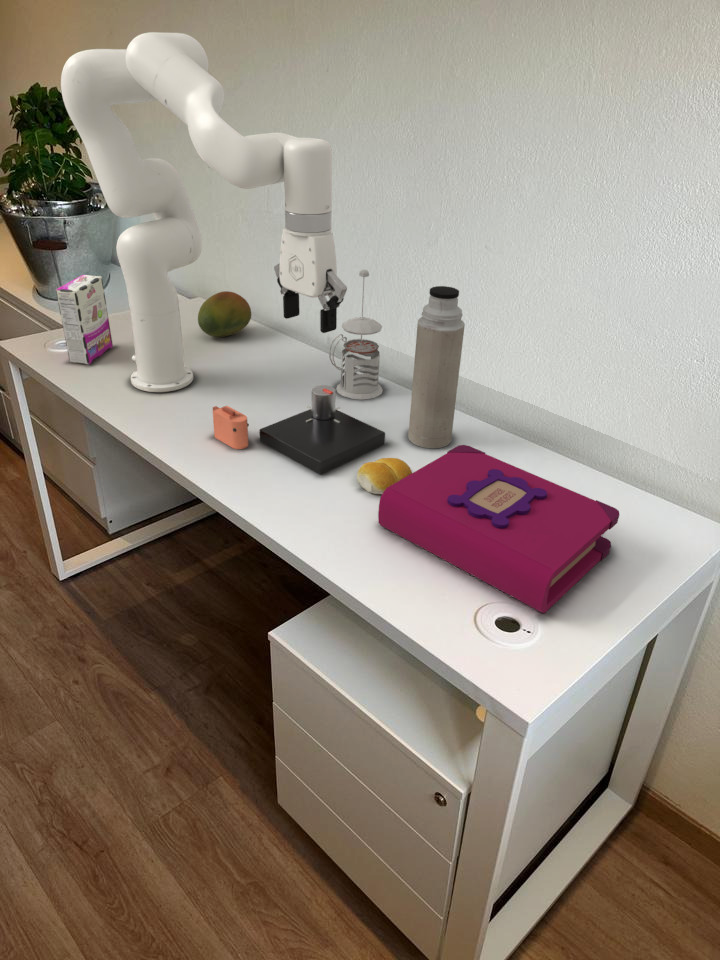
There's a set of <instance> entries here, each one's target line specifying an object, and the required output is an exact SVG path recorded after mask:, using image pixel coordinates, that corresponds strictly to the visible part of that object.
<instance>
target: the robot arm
mask: <svg viewBox="0 0 720 960" xmlns="http://www.w3.org/2000/svg"><path fill="white" fill-rule="evenodd" d="M209 68H210V67H209V58H208V55H207V53H206V51H205V49H204V47H203V45H202V44H201V43H200V42H199V41H198V40H197V39H196V38H194V37H193V36H191V35H189V34H187V33H183V32H157V31H150V32H149V31H148V32H145V33H141V34H138V35H136V36H135V37H134V38H133V39H132V40H130V41H129V44H128V45H127V48H126V49H125V48H123V49H122V48H117V49H116V48H94V49H85V50H81V51H79V52H76V53H74V54H72V55H71V56H69V58H68V59H67V60H66V62H65V63H64V65H63V68H62V71H61V76H60V91H61V96H62V100H63V101H62V102H63V104H64V107H65V109H66V112H67V114H68V116H69V118H70V120H71V122H72V124H73V126H74V128H75V129H76V131H77V133H78V135H79V137H80V140H81V141H82V144H83V145H84V148H85V150H86V153H87V156H88V158H89V161H90V164H91V167H92V169H93V172H94V174H95V177H96V180H97V182H98V185H99V188H100V190H101V192H102V195H103V198H104V200H105V202H106V204H107V207H108V209H109V210H110V211H111V212H112V213H113V214H114V215H115V216H117V217H119V218H123V219H129V218H136V217H141V216H147V215H150V214H153V217H154V219H155V220H154V219H153V220H150V221H146V222H141V223H138V224H137V223H136V224H134V225H132V226H129V227H128V228H127V229H125V230H124V231H122V232H121V233H120V235H119V236H118V239H117V242H116V247H115V248H116V256H117V260H118V263H119V266H120V269H121V271H122V275H123V278H124V282H125V287H126V293H127V294H126V295H127V299H128V307H129V315H130V323H131V328H132V329H131V330H132V338H133V344H134V345H133V346H134V352H135V353H134V354H132V356H131V360H132V361H133V362H135V363H136V364H135V365H136V370H135V371H133V373H132V374H131V375H130V383H131V385H132V387H134V388H136V389H138V390H140V391H144V392H149V393H168V392H174V391H178V390H181V389H183V388H186V387H188V386H189V385H190V384H192V382H193V380H194V372H193V371H192V370H191V369H190V368H189V367H187V366H185V355H184V354H185V353H184V345H183V332H182V322H181V311H180V302H179V301H180V300H179V294H178V292H177V289H176V287H175V285H174V283H172V281H171V278H170V277H169V272H172V271H174V270H176V269H180V268H182V267H186V266H188V265H191V264H193V263H195V262H196V261H197V260H198V259H199V258H200V256H201V254H202V251H203V240H202V234H201V231H200V228H199V224H198V221H197V218H196V216H195V213H194V210H193V207H192V203H191V201H190V198H189V195H188V192H187V190H186V186H185V184H184V181H183V179H182V177H181V175H180V173H179V172H178V170H177V169H176V168H175V167H174V165H172V164H171V163H170V162H168V161H167V160H165V159H163V158H157V157H151V158H150V157H149V158H143V159H142V158H141V156H140V154H139V153H138V150H137V148H136V144H135V141H134V138H133V136H132V134H131V132H130V130H129V129H128V127H127V126H126V125H125V123H124V121H123V120H122V119H121V118H120V117H119V116H118V115H117V114H116V113H115V112H114V111H113V110H112V107H113V106H114V105H130V104H132V105H133V104H144V103H152V102H155V101H158V102H159V103H160V104H162V105H163V106H164V107H165V108H166V109H167V110H168V111H169V112H171V113H172V114H173V115H174V116H175V117H177V118H178V119H179V120H180V121H182V123H184V124H185V125H186V126H187V130H188V134H189V138H190V140H191V143H192V145H193V147H194V150H195V151H196V153H197V154H198V156H199V157H200V158H201V159H202V161H203V162H204V163H205V164H206V165H207V166H209V167H210V168H211V169H212V170H213V171H214V172H215V173H216V174H218V176H220V177H221V178H223V180H225V181H227V182H228V183H229V184H231V185H233V186H235V187H237V188H239V189H246V190H251V189H256V188H260V187H265V186H269V185H274V184H275V185H277V184H280V183H283V186H284V221H285V222H284V223H285V224H284V225H285V227H283V228H282V233H281V237H280V238H281V239H280V246H279V247H280V248H279V263H277V264H276V265H274V266H273V270H274V272H275V276H276V278H277V279H276V282H277V284H278V286H279V288H280V289H279V291H280V294H281V295H282V304H283V305H282V308H283V318H284V319H286V320H287V319H291V318H295V317H298V316H300V295H303V296H306V297H308V298H313V299H314V298H318V300H319V303H320V305H321V307H322V309H320V312H319V315H320V316H319V317H320V318H319V319H320V320H319V326H320V328H319V329H320V332H321V333H322V334H326V333H329V332H334V331H336V330H337V327H338V326H337V325H338V324H337V323H338V322H337V320H338V319H337V318H338V315H337V314H338V313H337V310H338V308H340V307H341V306H340V305H341V304H342V303H343V302H344V299H345V298H344V297H345V296H346V293H347V291H348V286H347V285H346V284H345V283H344V282H343V281H342V279H340V277H338V274H337V273H338V271H337V254H336V246H335V238H334V234H333V232H332V230H333V229H332V225H333V224H332V223H333V222H332V219H333V218H332V214H333V213H332V202H333V201H332V198H333V197H332V196H333V195H332V194H333V193H332V191H333V189H332V188H333V183H332V182H333V180H332V179H333V164H332V163H333V154H332V153H333V152H332V151H333V150H332V146H331V144H330V142H329V141H327V140H326V139H323V138H317V137H298V136H294V135H291V134H288V133H284V132H275V131H274V132H266V133H257V134H249V135H243V134H241V133H240V132H238V131H237V130H235V128H233V127H232V126H230V125H229V124H228V122H226V121H225V120H224V119H223V118H222V117H221V116H220V113H221V111H222V109H223V105H224V102H225V92H224V87H223V85H222V84H221V83H220V82H219V80H217V79H216V78H215V77H213V76H212V75H211V74H210V73H209ZM327 297H328V299H329V300H328V299H327Z"/></svg>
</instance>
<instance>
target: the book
mask: <svg viewBox="0 0 720 960" xmlns="http://www.w3.org/2000/svg"><path fill="white" fill-rule="evenodd" d="M446 452H447V453H445V454H442V455H441V456H440V457H438V458H436V459H434V460H433V461H431V462H429V463H427V464H426V465H424V466H422V467H421V468H419V469H416V470H415V471H414V472H412V474H410V475H408V476H407V477H405V478H403V479H401V480H400V481H398V482H396V483H394V484H393V485H391V486H389V487H387V488H386V490H385V491H384V492H383V494H381V496H380V498H379V504H378V512H377V521H378V524H379V526H381V527H382V528H385V529H386V530H388V531H390V532H392V533H394V534H396V535H397V536H399V537H400V538H403V539H405V540H406V541H408V542H410V543H412V544H414V545H416V546H418V547H420V548H421V549H423V550H425V551H427V552H428V553H430V554H433V555H434V556H436V557H438V558H440V559H442V560H444V561H446V562H447V563H449V564H451V565H453V566H454V567H457V568H458V569H460V570H462V571H463V572H465V573H467V574H470V575H471V576H473V577H475V578H477V579H478V580H480V581H482V582H484V583H486V584H488V585H490V586H491V587H493V588H496V589H497V590H498V591H501V592H503V593H505V594H506V595H509V596H511V598H514V599H516V600H518V601H519V602H521V603H523V604H525V605H527V606H529V607H530V608H532V609H534V610H536V611H538V612H540V613H541V614H546V613H547V612H548V611H549V610H550V609H551V608H552V607H553V606H554V605H555V604H556V603H558V601H559V600H560V599H561V598H563V596H565V595H566V594H567V593H568V592H569V591H570V590H571V589H572V588H573V587H574V586H575V585H576V584H577V583H578V582H579V581H580V580H582V579H583V578H584V577H585V576H586V575H587V574H588V573H589V572H590V571H591V570H592V569H593V568H594V567H595V566H596V565H597V564H598V563H600V562H602V561H603V560H605V558H607V556H609V554H610V551H611V548H612V541H610V540H609V539H608V538H606V537H604V536H603V535H604V534H605V533H607V531H608V530H611V529H612V528H614V526H616V525H617V524H618V523H619V518H620V511H619V510H618V508H616V507H613V506H611V505H609V504H607V503H604V502H602V501H599V500H597V499H596V500H595V499H593V498H590V497H588V496H586V495H584V494H581V493H579V492H576V491H574V490H572V489H569V488H567V487H565V486H561V485H560V484H557V483H555V482H553V481H550V480H548V479H545V478H543V477H540V476H538V475H536V474H534V473H532V472H530V471H527V470H524V469H522V468H520V467H517V466H515V465H513V464H510V463H507V462H505V461H503V460H501V459H498V458H496V457H494V456H492V455H489V454H487V453H486V452H485V451H482V450H480V449H478V448H475V447H473V446H471V445H467V444H459V445H457V446H455V447H453V448H451V449H450V450H448V451H446Z"/></svg>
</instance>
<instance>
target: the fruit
mask: <svg viewBox="0 0 720 960" xmlns="http://www.w3.org/2000/svg"><path fill="white" fill-rule="evenodd" d="M251 320H252V308H251V306H250V304H249V302H248V301H247V300H246V299H245V298H244V297H243V296H241V295H240V294H238V293H236V292H233V291H228V290H227V291H226V290H225V291H219V292H217V293H215V294H213V295H211V296H210V297H208V298H207V299H206V300H205V301H204V302H203V303H202V304H201V306H200V308H199V311H198V314H197V323H198V326H199V329H200V330H201V331H202V332H203V333H205V334H206V335H208V336H210V337H215V338H224V337H229V336H232V335H236V334H237V333H240V332H241V331H242V330H244V329H245V328H246V327H247V326H248V325H249V323H250V321H251Z"/></svg>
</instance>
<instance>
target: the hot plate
mask: <svg viewBox="0 0 720 960" xmlns="http://www.w3.org/2000/svg"><path fill="white" fill-rule="evenodd" d="M306 408H307V410H303V411H302V412H300V413H297V414H295V415H292V416H290V417H286V418H284V419H282V420H280V421H277V422H275V423H272V424H269V425H266V426H264V427H261V428H259V430H258V431H259V442H260V443H261V444H264V445H265V446H267V447H269V448H271V449H273V450H275V451H276V452H277V453H280V454H283V455H284V456H285V457H287V458H290V459H291V460H293V461H294V462H296V463H298V464H301V466H304V467H305V468H307V469H309V470H311V471H313V472H315V473H317V474H318V475H320V476H322V475H324V474H326V473H328V472H330V471H332V470H334V469H336V468H339V467H341V466H343V465H344V464H347V463H348V462H351V461H353V460H355V459H357V458H359V457H361V456H363V455H366V454H368V453H370V452H371V451H374V450H376V449H378V448H380V447H382V446H385V443H386V432H385V431H383V430H380V429H379V428H377V427H374V426H373V425H370V424H368V423H367V422H364V421H362V420H359V419H358V418H355V417H354V416H351V415H349V414H347V413H346V412H343V411H341V410H340V409H341V407H335V416H334V417H333V418H332V419H328V420H319V419H316V418H314V417H313V416H312V406H307V407H306Z"/></svg>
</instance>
